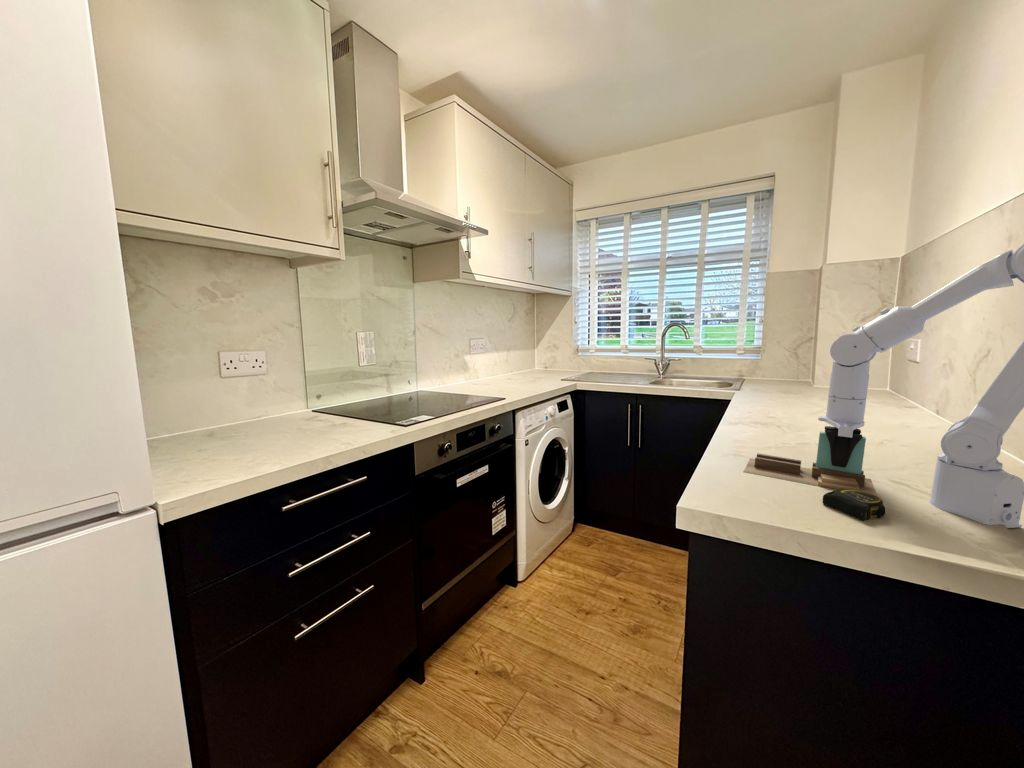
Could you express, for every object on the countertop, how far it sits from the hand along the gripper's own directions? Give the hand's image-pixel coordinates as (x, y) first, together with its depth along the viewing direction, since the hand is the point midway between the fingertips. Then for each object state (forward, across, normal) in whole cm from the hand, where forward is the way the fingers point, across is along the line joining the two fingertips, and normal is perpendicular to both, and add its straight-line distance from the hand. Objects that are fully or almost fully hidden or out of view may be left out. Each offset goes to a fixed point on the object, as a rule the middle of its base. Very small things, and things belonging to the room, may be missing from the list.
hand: (838, 464), depth 81 cm
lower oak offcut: (+3, +5, 0) cm, 6 cm away
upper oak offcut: (+2, +5, 0) cm, 5 cm away
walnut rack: (+4, +2, -5) cm, 7 cm away
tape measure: (+4, +17, +2) cm, 17 cm away
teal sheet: (+3, 0, 0) cm, 3 cm away
